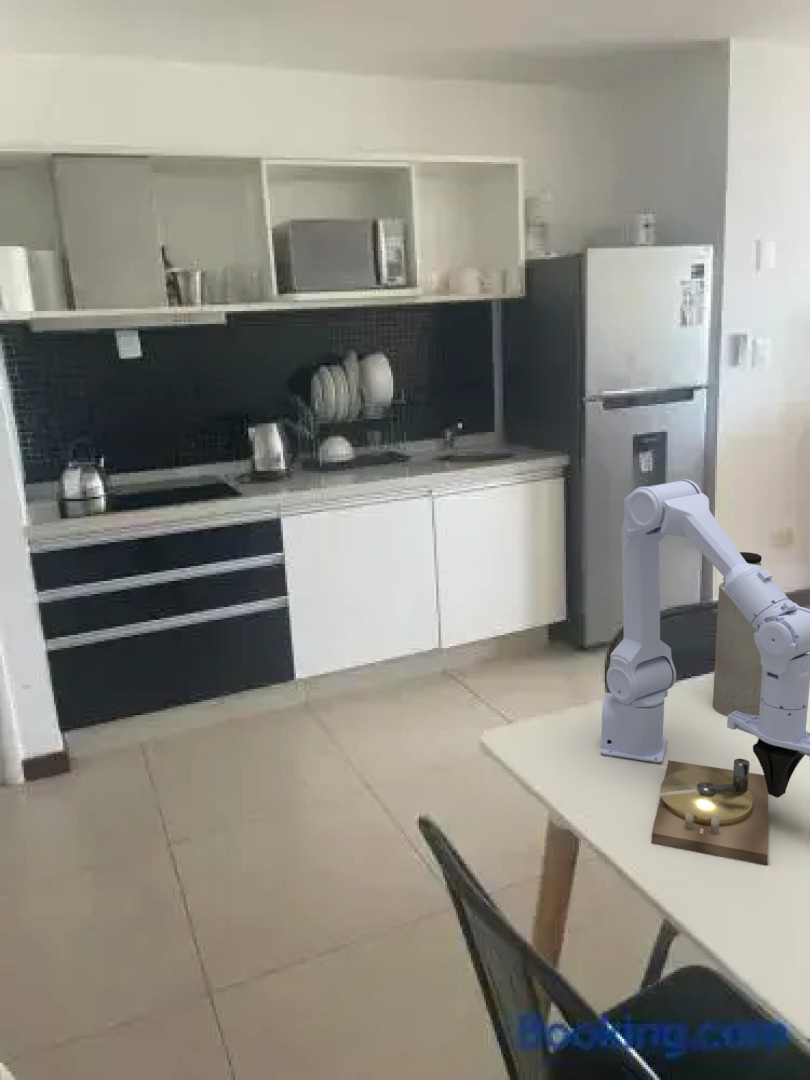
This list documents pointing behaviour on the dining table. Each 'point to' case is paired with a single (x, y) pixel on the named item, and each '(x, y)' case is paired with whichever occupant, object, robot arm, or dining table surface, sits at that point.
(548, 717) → the dining table surface
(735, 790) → the dial
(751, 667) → the thermos bottle
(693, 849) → the walnut stand
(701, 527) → the robot arm
